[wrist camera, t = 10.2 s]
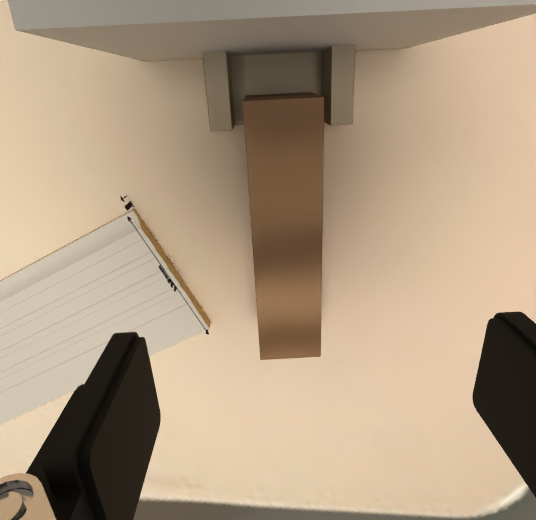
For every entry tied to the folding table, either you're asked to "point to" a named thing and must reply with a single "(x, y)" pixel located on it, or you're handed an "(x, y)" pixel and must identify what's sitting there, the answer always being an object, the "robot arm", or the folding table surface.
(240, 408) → the folding table surface
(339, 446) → the folding table surface
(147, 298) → the grey flat board
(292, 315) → the rail
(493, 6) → the panel
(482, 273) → the folding table surface
